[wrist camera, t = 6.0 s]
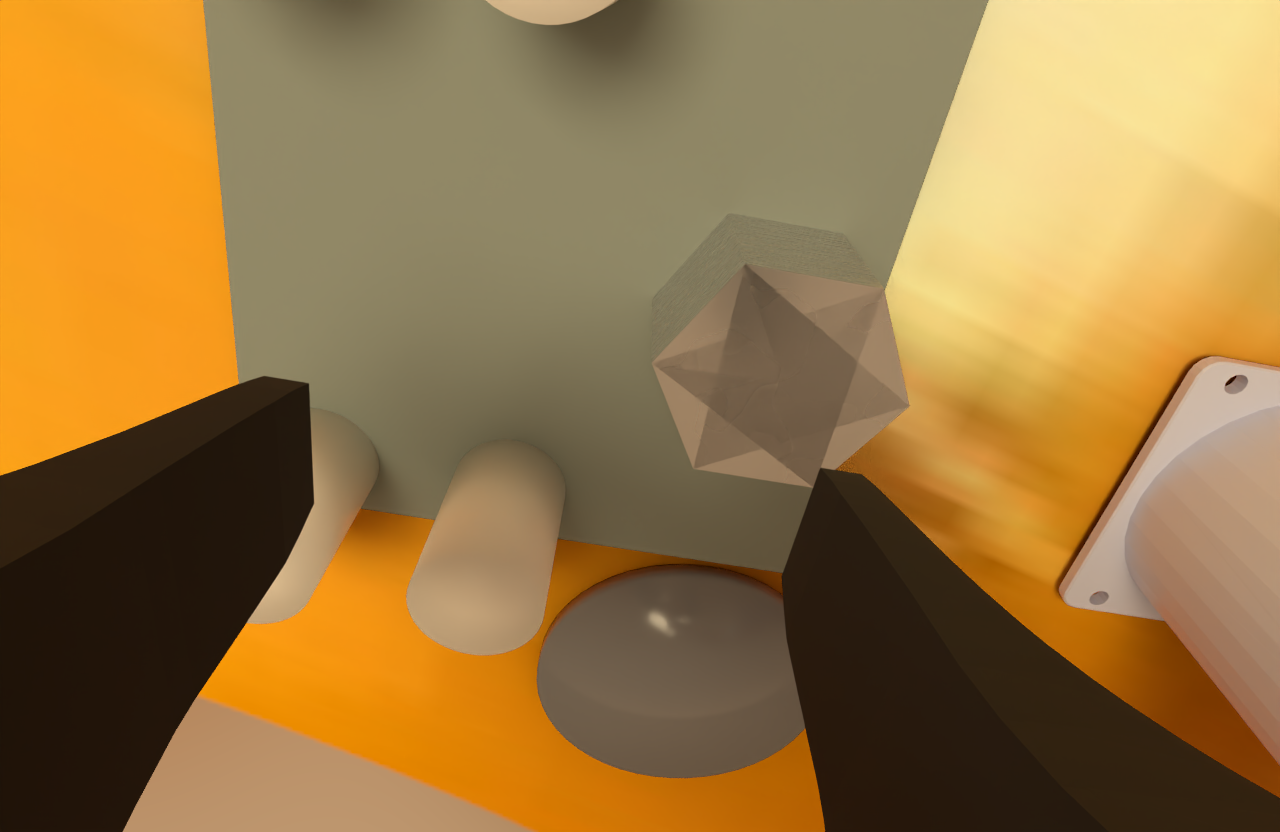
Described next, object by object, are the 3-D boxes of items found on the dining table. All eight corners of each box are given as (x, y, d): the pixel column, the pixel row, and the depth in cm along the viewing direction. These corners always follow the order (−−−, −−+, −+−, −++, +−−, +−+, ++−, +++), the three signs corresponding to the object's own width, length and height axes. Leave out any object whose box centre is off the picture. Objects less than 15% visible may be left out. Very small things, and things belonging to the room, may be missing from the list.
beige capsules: (670, -160, 14) (675, -217, 10) (558, 538, 21) (536, 663, 17) (208, -261, 13) (15, -366, 9) (267, 494, 21) (177, 613, 17)
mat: (1009, -81, 14) (1017, -83, 14) (781, 563, 22) (783, 573, 22) (190, -262, 13) (177, -269, 13) (255, 483, 21) (249, 491, 21)
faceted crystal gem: (899, 243, 17) (951, 301, 14) (838, 416, 19) (872, 497, 16) (671, 202, 17) (674, 251, 14) (635, 382, 19) (631, 459, 16)
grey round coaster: (858, 589, 23) (863, 603, 22) (778, 777, 27) (780, 793, 27) (557, 543, 22) (555, 557, 21) (525, 743, 26) (522, 759, 26)
